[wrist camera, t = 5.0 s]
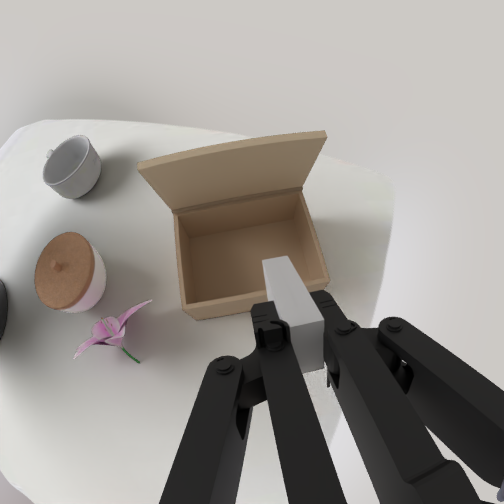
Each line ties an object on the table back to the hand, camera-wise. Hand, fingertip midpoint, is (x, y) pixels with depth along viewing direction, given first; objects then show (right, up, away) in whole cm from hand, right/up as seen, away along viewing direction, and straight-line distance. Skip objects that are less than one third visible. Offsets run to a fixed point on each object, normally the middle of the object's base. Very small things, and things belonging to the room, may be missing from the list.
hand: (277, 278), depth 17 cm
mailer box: (-2, 0, +21) cm, 21 cm away
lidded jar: (-26, -4, +21) cm, 34 cm away
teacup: (-35, +16, +29) cm, 48 cm away
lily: (-19, -10, +18) cm, 28 cm away
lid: (-3, +9, +11) cm, 14 cm away
